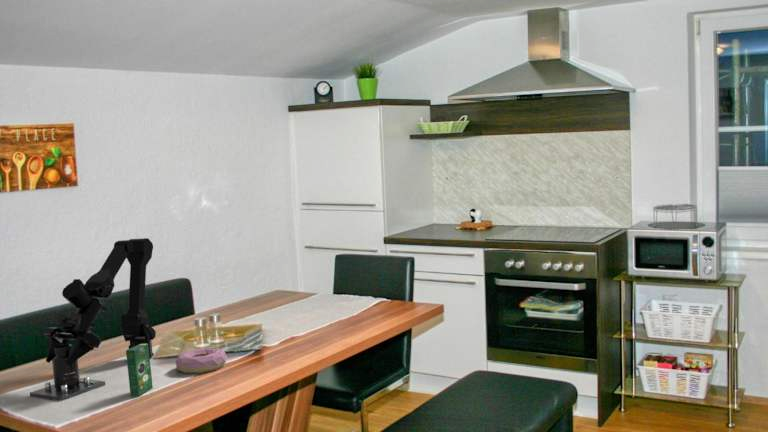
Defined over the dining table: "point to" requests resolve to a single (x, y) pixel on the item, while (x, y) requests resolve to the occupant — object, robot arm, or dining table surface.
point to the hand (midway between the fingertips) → (57, 363)
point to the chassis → (66, 389)
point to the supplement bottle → (65, 368)
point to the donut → (201, 360)
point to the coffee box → (139, 369)
